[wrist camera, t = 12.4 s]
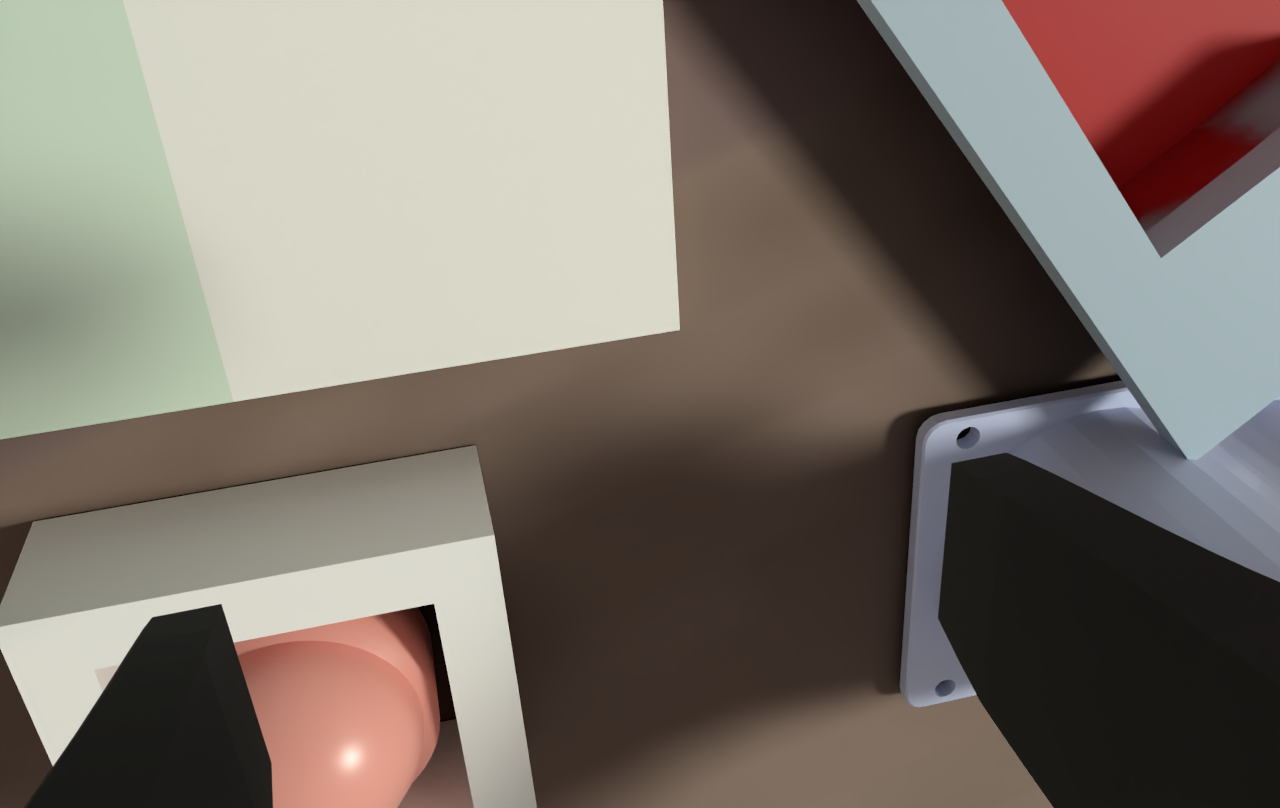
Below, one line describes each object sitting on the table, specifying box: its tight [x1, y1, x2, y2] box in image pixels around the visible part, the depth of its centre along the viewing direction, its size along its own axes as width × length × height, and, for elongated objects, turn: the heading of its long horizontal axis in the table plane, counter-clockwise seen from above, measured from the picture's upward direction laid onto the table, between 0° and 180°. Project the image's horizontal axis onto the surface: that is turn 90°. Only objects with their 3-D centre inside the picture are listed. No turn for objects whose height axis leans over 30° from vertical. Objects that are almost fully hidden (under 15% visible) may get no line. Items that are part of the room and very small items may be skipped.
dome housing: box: [0, 445, 537, 808], centre depth 22 cm, size 8×8×3 cm
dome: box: [234, 607, 440, 808], centre depth 21 cm, size 5×5×4 cm
